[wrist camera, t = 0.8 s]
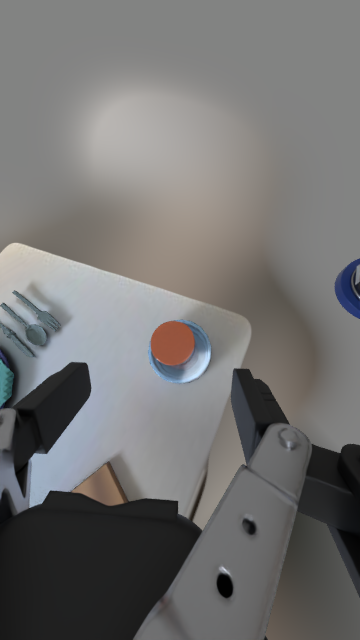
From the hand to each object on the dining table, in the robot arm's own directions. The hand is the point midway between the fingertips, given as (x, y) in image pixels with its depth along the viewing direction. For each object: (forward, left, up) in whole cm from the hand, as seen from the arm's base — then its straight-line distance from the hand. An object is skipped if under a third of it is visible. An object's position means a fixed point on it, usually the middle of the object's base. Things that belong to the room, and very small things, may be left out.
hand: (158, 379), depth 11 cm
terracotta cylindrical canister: (+2, -5, -21) cm, 22 cm away
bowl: (+2, -5, -22) cm, 23 cm away
